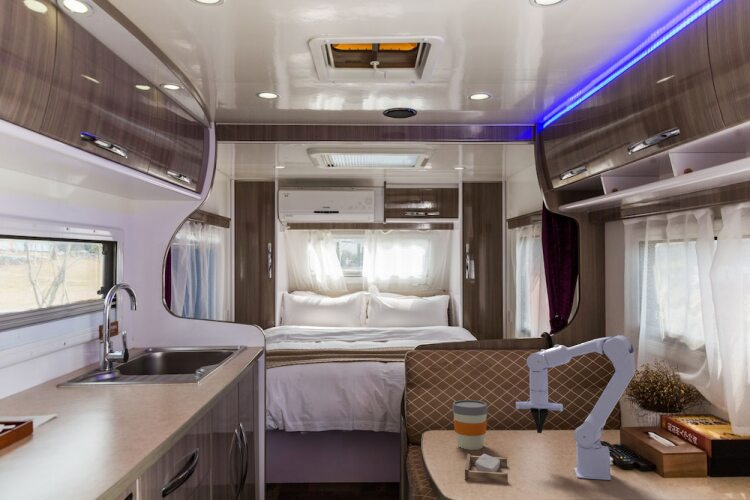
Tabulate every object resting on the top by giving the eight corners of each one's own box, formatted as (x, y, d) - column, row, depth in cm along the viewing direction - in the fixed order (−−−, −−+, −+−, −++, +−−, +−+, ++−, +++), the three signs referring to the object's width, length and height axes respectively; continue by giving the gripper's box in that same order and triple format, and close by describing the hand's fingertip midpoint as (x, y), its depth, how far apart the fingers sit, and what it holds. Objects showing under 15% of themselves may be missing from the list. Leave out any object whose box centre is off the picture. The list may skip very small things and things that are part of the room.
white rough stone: (488, 488, 168) (491, 473, 166) (469, 478, 171) (472, 464, 169) (499, 469, 176) (502, 454, 174) (481, 460, 179) (484, 446, 177)
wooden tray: (507, 465, 177) (506, 456, 177) (507, 483, 163) (507, 472, 163) (467, 463, 180) (467, 453, 180) (464, 479, 165) (464, 469, 165)
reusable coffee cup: (494, 449, 194) (493, 406, 194) (460, 452, 191) (460, 408, 192) (479, 439, 206) (478, 398, 207) (447, 442, 203) (447, 400, 204)
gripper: (516, 391, 177) (516, 434, 176) (563, 393, 173) (564, 437, 173) (515, 386, 184) (515, 428, 183) (561, 388, 180) (561, 430, 180)
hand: (539, 432), depth 178 cm, fingers closed
